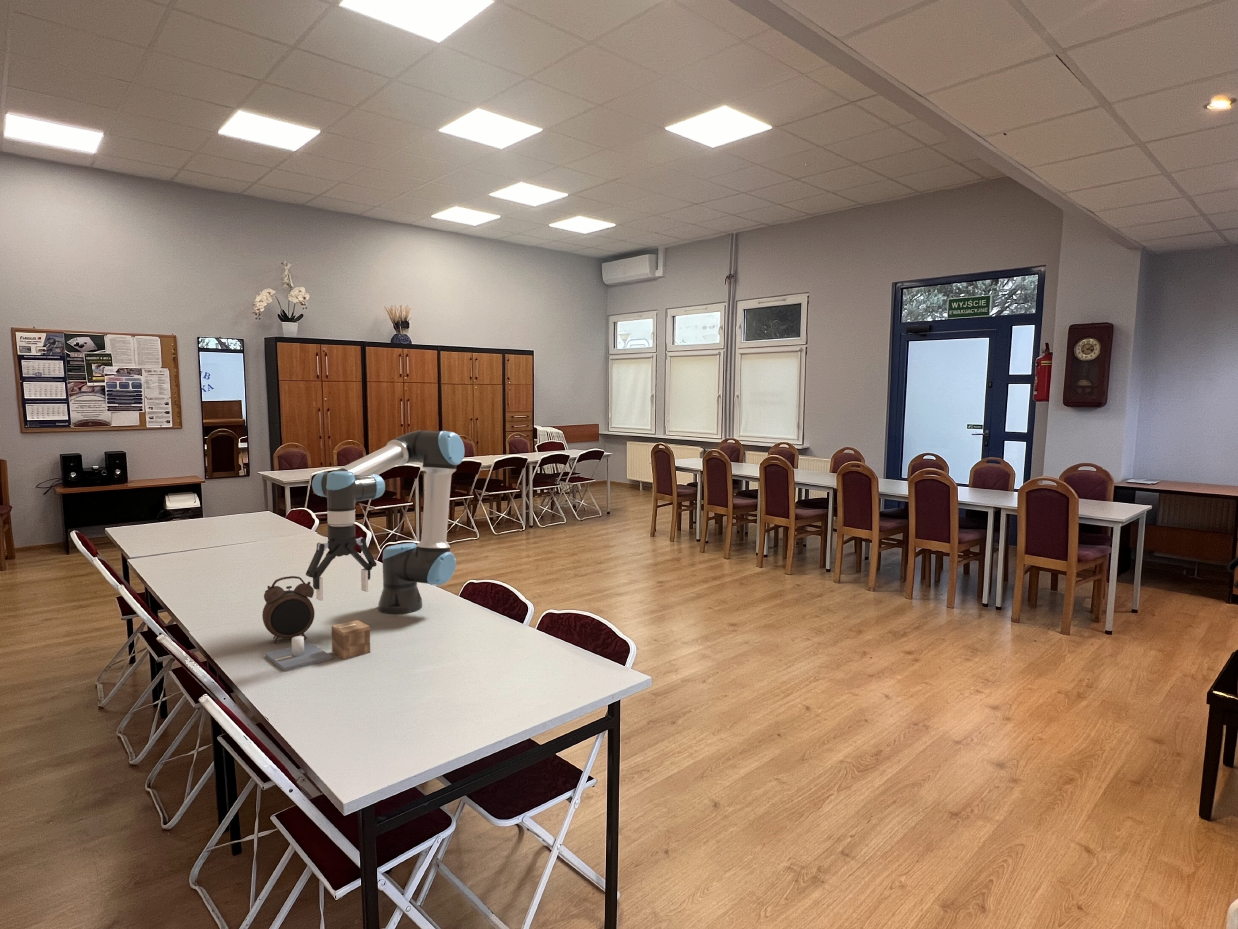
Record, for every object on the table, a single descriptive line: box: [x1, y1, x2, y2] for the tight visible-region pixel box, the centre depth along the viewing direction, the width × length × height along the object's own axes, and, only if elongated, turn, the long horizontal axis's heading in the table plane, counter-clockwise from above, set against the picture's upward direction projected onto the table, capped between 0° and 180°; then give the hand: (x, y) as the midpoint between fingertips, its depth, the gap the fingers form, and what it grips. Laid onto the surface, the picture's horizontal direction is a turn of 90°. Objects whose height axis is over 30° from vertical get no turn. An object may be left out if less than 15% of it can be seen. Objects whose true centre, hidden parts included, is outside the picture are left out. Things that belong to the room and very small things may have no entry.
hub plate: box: [264, 635, 333, 672], centre depth 197 cm, size 13×15×6 cm
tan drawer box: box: [331, 619, 371, 660], centre depth 202 cm, size 8×8×8 cm
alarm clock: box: [262, 575, 315, 644], centre depth 211 cm, size 14×7×20 cm, turn 126°
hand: (342, 595), depth 201 cm, fingers open, 13 cm apart
